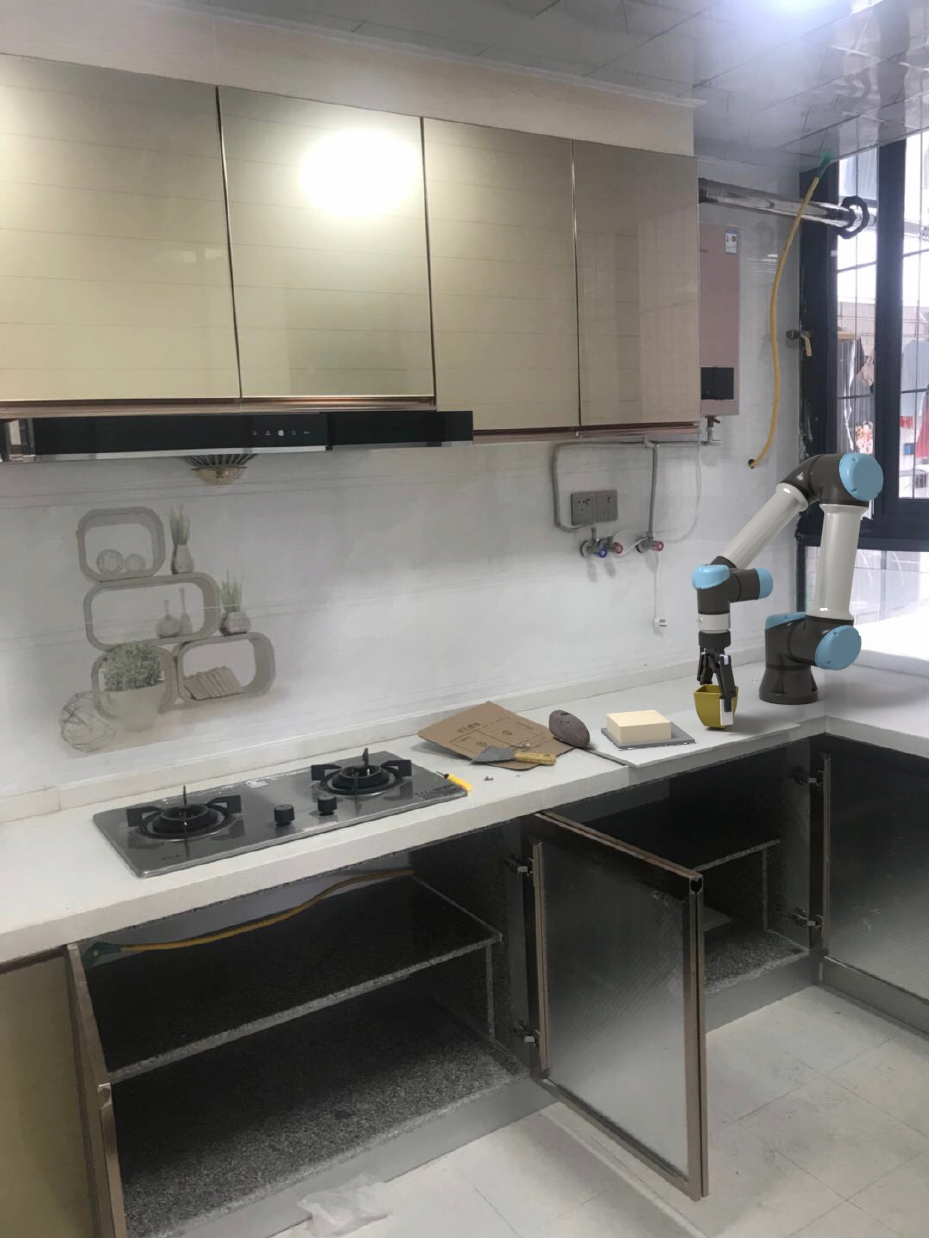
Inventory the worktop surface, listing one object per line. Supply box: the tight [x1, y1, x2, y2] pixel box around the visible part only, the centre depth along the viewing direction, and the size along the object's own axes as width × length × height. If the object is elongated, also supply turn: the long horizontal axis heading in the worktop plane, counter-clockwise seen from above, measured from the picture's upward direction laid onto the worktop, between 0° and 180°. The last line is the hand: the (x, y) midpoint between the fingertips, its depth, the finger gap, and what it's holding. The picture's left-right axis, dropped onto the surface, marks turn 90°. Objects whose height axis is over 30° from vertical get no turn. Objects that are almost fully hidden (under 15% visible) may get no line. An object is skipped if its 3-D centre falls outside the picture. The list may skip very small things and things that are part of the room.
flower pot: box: [693, 684, 739, 728], centre depth 230 cm, size 9×9×9 cm
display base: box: [600, 709, 696, 749], centre depth 227 cm, size 18×16×5 cm
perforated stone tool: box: [548, 709, 591, 748], centre depth 225 cm, size 15×5×7 cm, turn 23°
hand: (716, 717), depth 231 cm, fingers closed on flower pot, 12 cm apart
